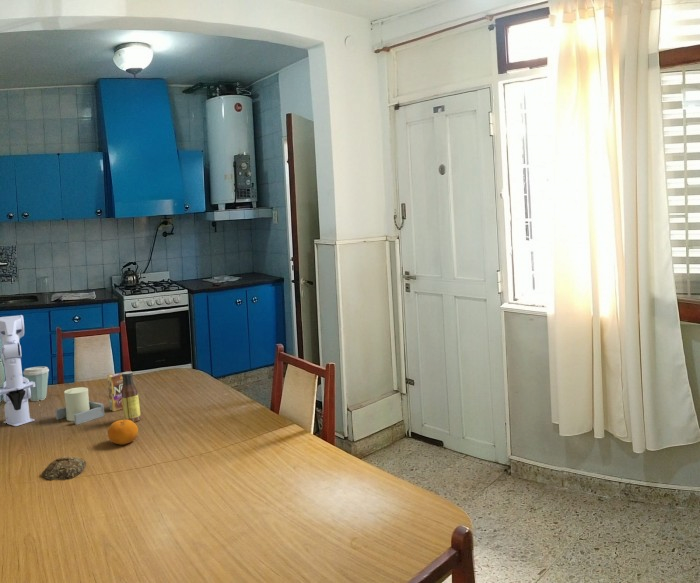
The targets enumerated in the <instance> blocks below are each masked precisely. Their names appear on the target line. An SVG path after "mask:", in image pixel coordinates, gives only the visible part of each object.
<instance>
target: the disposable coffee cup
mask: <svg viewBox="0 0 700 583" xmlns="http://www.w3.org/2000/svg"><path fill="white" fill-rule="evenodd" d="M49 372H50V369H49V367H48V366H33V367H27V368H24V370H22V375H23V377H25V378H27V379H28V380H29V382H32V381H33V382H35V387H30V390H31V397H30V399H29V400H30V402H39V400H41V401H44V400H45V398H47V395H48V394H47V392H48V381H49Z"/></svg>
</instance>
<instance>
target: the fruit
mask: <svg viewBox="0 0 700 583" xmlns="http://www.w3.org/2000/svg"><path fill="white" fill-rule="evenodd" d="M138 435H139V428H138V425H137V423H136V422H133V421H131V420H127V419H125V418H124V419H119V420H116V421H114V422H113V423H111V424H110V425H109V427H108V429H107V437H108V439H109V440H110V442H111V443H113V444H116V445H121V446H122V445H127V444H129V443H132V442H133V441H135V440H136V438H137V437H138Z"/></svg>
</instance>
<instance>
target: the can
mask: <svg viewBox="0 0 700 583" xmlns="http://www.w3.org/2000/svg"><path fill="white" fill-rule="evenodd" d="M63 393H64V401H65V407H66V415H67V417H65V418H66V421H69V422H75V421H74V415H75V414H78V413H81V412H84V411H87V410H90V407H89V401H90V398H89V395H90V394H89V388H88V387H84V386H81V387H73V388H68V389H65V390H64V391H63Z"/></svg>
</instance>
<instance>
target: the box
mask: <svg viewBox="0 0 700 583" xmlns="http://www.w3.org/2000/svg"><path fill="white" fill-rule="evenodd" d="M89 407H90V410H87V411H84V412H81V413H78V414H75V415H74V421H73V422H74V425H75V426H77V425H80V424H84V423H86V422H89V421H93V420H97V419H99V418H102V417H104V416H105V407H104V403H102V402H97V401H92V400H89ZM54 411H55V412H54V413H55V420H61V419H64V418H67V415H66V406H63V407H60V408H57V409H55V410H54Z"/></svg>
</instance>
